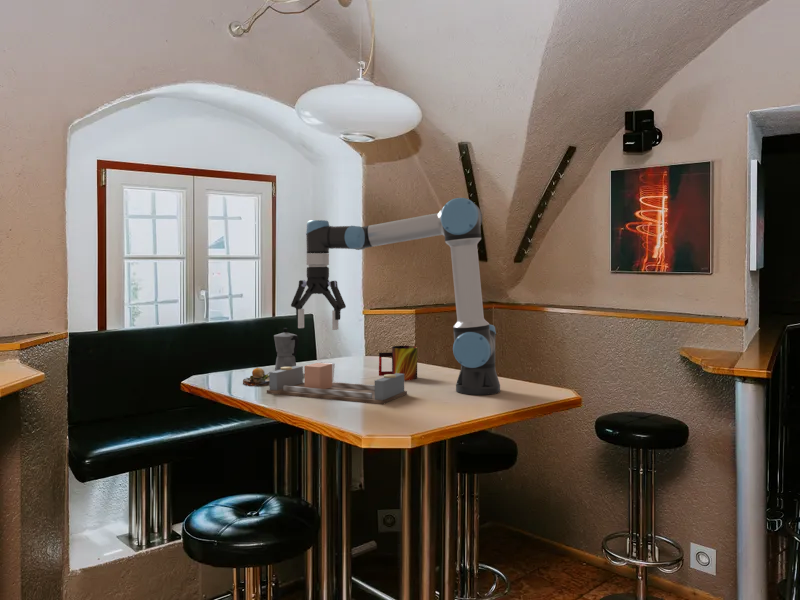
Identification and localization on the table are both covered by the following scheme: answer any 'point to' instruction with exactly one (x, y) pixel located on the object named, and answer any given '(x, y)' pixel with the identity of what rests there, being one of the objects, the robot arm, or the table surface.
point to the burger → (257, 378)
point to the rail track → (337, 392)
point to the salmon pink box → (318, 376)
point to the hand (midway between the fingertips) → (318, 328)
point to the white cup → (332, 368)
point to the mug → (401, 361)
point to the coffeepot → (285, 349)
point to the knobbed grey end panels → (294, 376)
